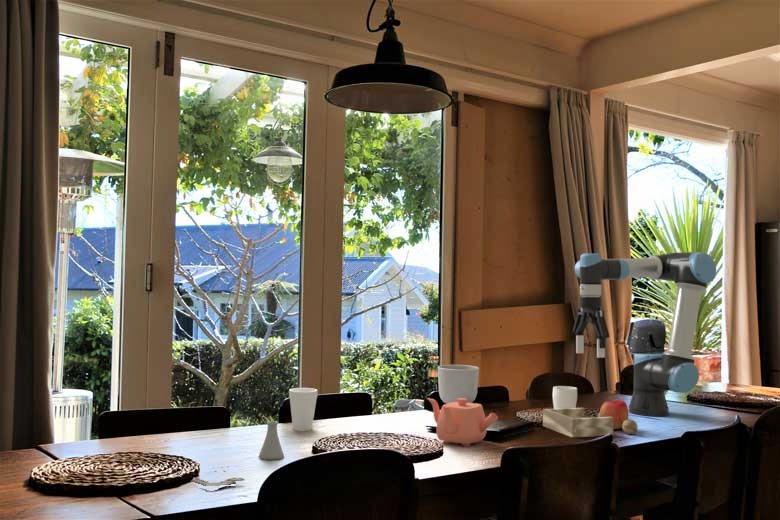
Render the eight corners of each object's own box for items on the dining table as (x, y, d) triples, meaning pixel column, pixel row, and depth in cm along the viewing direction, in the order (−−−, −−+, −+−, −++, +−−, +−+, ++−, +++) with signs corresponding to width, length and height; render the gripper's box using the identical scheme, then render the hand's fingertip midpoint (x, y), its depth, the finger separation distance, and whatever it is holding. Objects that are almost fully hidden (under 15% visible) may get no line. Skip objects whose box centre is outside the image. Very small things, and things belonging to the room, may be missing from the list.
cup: (574, 418, 289) (575, 386, 289) (578, 422, 280) (579, 390, 280) (550, 417, 290) (551, 385, 290) (553, 421, 281) (554, 389, 281)
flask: (259, 454, 221) (260, 419, 221) (284, 454, 221) (285, 419, 221) (257, 460, 213) (258, 424, 214) (283, 460, 214) (284, 425, 214)
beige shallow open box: (581, 424, 277) (582, 407, 277) (613, 435, 259) (613, 417, 259) (542, 426, 272) (543, 409, 272) (572, 437, 254) (572, 419, 254)
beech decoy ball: (631, 432, 265) (631, 417, 265) (640, 435, 260) (640, 420, 261) (619, 432, 264) (619, 418, 264) (628, 435, 259) (628, 421, 259)
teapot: (442, 449, 232) (443, 404, 232) (425, 436, 250) (426, 394, 250) (498, 448, 236) (499, 403, 236) (478, 435, 254) (479, 393, 254)
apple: (617, 425, 277) (618, 397, 277) (633, 430, 268) (634, 402, 268) (594, 426, 274) (595, 398, 274) (610, 432, 265) (610, 403, 265)
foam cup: (321, 427, 260) (322, 389, 260) (307, 432, 252) (308, 393, 252) (297, 424, 264) (298, 387, 264) (282, 429, 256) (283, 390, 256)
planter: (433, 400, 321) (434, 364, 321) (473, 401, 323) (474, 364, 323) (440, 408, 304) (441, 369, 304) (482, 408, 306) (483, 370, 306)
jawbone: (222, 498, 181) (222, 489, 181) (156, 486, 190) (155, 478, 190) (245, 485, 189) (245, 477, 189) (180, 475, 198) (180, 467, 198)
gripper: (563, 295, 286) (562, 351, 286) (601, 297, 263) (600, 359, 263) (580, 294, 289) (580, 351, 289) (619, 297, 265) (619, 359, 265)
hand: (590, 355), depth 276 cm, fingers open, 13 cm apart
